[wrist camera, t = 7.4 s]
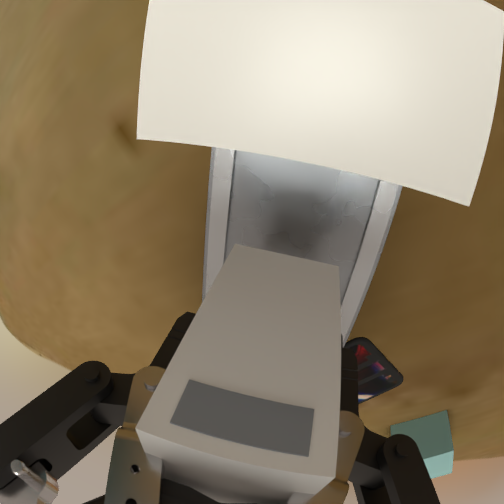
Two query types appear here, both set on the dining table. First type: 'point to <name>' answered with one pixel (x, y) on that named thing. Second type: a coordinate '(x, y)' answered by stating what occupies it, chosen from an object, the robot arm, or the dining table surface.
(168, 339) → the robot arm
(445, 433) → the block
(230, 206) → the grey rectangular tray
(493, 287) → the dining table surface
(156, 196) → the dining table surface
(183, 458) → the block
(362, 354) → the smartphone
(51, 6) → the dining table surface
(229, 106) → the block
